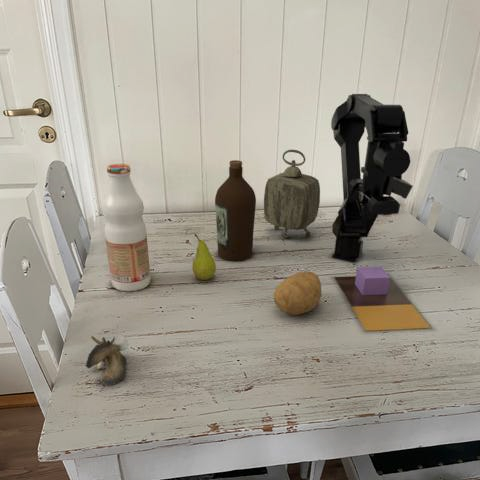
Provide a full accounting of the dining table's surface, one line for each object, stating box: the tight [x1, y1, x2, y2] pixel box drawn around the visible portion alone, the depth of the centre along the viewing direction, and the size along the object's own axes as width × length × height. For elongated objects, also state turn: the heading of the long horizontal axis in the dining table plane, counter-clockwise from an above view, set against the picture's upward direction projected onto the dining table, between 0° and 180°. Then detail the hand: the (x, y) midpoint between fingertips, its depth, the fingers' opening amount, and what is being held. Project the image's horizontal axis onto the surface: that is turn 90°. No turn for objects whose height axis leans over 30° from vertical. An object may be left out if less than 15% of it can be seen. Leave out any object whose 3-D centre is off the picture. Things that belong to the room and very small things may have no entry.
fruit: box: [191, 233, 217, 281], centre depth 118 cm, size 6×6×12 cm
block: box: [355, 266, 391, 295], centre depth 116 cm, size 6×6×4 cm
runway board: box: [334, 275, 412, 308], centre depth 117 cm, size 15×14×1 cm
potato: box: [273, 270, 323, 316], centre depth 107 cm, size 10×14×8 cm
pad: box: [351, 303, 431, 332], centre depth 106 cm, size 10×14×1 cm
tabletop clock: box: [263, 149, 321, 239], centre depth 140 cm, size 14×9×25 cm, turn 58°
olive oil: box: [214, 159, 257, 262], centre depth 128 cm, size 11×11×25 cm
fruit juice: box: [101, 163, 151, 292], centre depth 111 cm, size 9×9×28 cm
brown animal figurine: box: [85, 334, 129, 387], centre depth 88 cm, size 8×7×9 cm
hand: (367, 230), depth 118 cm, fingers closed
